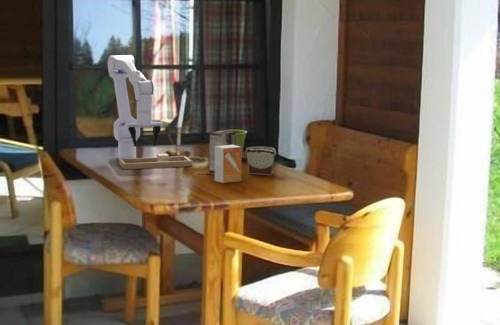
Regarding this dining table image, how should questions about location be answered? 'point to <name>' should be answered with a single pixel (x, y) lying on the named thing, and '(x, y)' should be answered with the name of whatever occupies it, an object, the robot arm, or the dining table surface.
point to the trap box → (154, 162)
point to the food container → (260, 160)
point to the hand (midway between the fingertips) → (144, 145)
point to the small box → (228, 163)
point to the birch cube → (162, 158)
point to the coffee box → (219, 143)
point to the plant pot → (239, 137)
